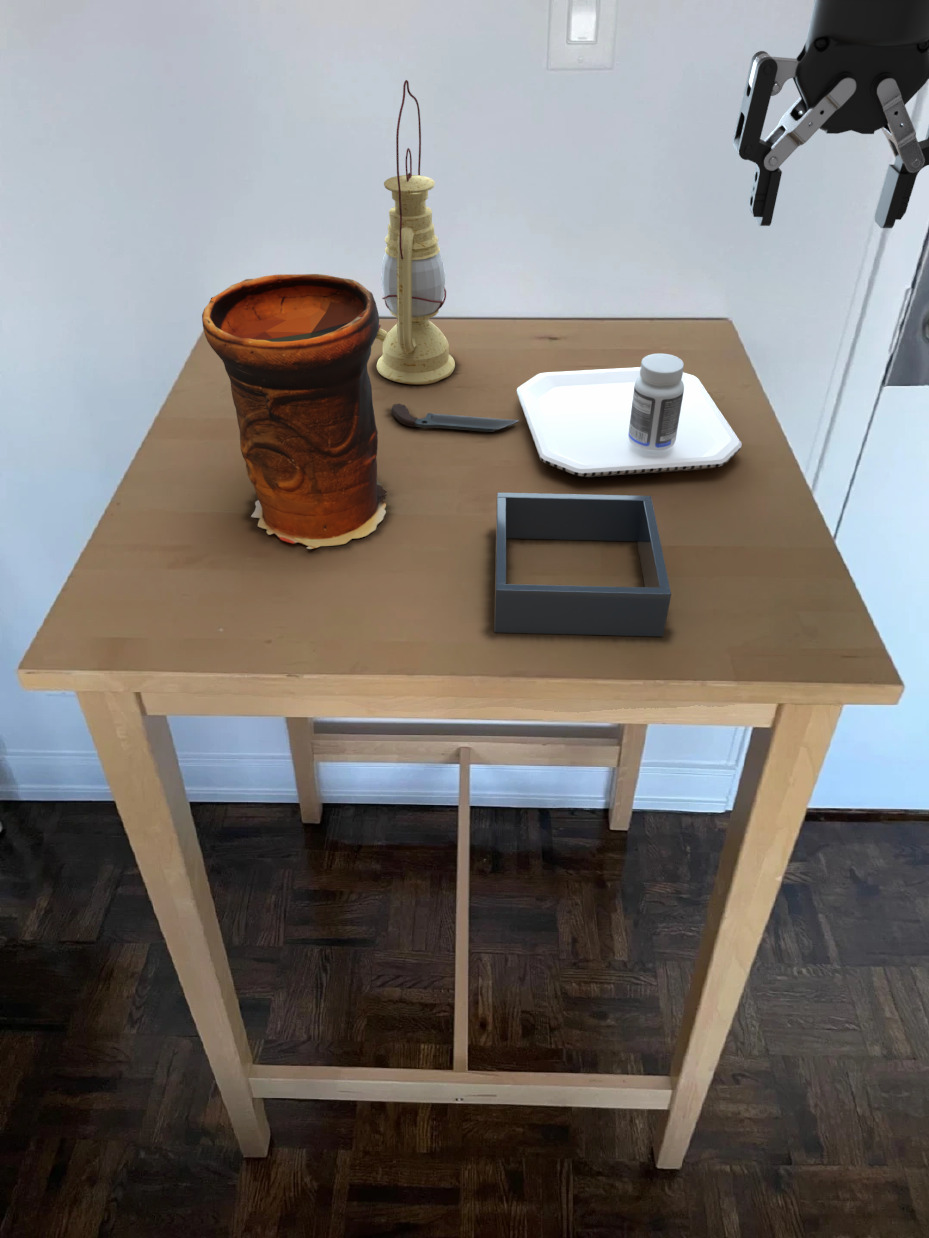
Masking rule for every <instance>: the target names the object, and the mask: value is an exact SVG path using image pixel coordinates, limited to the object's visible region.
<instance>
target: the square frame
mask: <svg viewBox="0 0 929 1238" xmlns="http://www.w3.org/2000/svg"><path fill="white" fill-rule="evenodd" d="M495 517H496V518H495V519H496V520H495V563H494V565H495V567H494V570H495V571H494V625H493V626H494V630H493V631H494V633H499V634H501V633H502V634H538V635H539V634H541V635H582V636H585V635H586V636H620V637H624V636H625V637H656V638H657V637H660V638H661V637H664V634H665V628H666V624H667V623H666V622H667V618H668V613H669V608H670V603H671V598H672V591H671V585H670V581H669V576H668V571H667V567H666V561H665V557H664V553H663V548H662V543H661V537H660V533H659V527H658V523H657V517H656V513H655V509H654V502H653V499H652V496H651V495H635V494H633V495H630V494H629V495H628V494H623V495H622V494H588V493H587V494H585V493H583V494H581V493H579V494H578V493H542V492H539V493H537V492H497V493H496V515H495ZM507 539H511V540H512V539H515V540H516V539H517V540H518V539H519V540H556V541H557V540H558V541H559V540H561V541H562V540H563V541H601V542H602V541H603V542H605V541H606V542H637V543H636V544H637V550H638V556H639V561H640V565H641V566H640V567H641V573H642V579H643V584H644V587H643V586H640V587H638V586H602V585H601V586H599V585H598V586H597V585H595V586H594V585H561V584H559V585H557V584H556V585H555V584H552V585H551V584H522V583H521V584H518V583H517V584H515V583H507Z"/></svg>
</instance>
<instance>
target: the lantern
mask: <svg viewBox="0 0 929 1238" xmlns="http://www.w3.org/2000/svg"><path fill="white" fill-rule="evenodd" d="M402 87H403V88H402V100H401V105H400V108H399V111H398V118H397V124H396V135H395V137H396V138H395V139H396V141H395V142H396V143H395V144H396V148H395V149H396V151H395V152H396V176H391V177H388V178H387V179H386V180H384V182H383V186H384V188H385V189H386V190H387V191H390V192H391V199H392V200H393V201H394V206H393V207H391V208H390V209H389V210H388V217H389V223H388V224H387V234H386V236H385V238H384V242H385V243H386V247H385V248H384V252H385V253H384V255H383V257H382V262H381V274H380V283H381V290H382V297H381V299H382V300H384V305H385V307H386V308H387V309H388V310H389V313H390V314H391V316H393V317H394V318H396V322H397V323H395V324H394V325H393V326H392V328H391V329H390V330H389V331H386V330H385V329H383V328H381V326H382V325H381V324H379V328H378V333H377V336H376V338H375V340H379V341H380V342H381V343H382V355H381V356H380V357H379V358H378V360H377V363H376V371H377V372H378V374H380V375H381V376H382V377H383V378H386V380H390V381H393V382H396V383H401V384H407V385H429V384H434V383H437V382H439V381H441V380H443V379H446V378H448V377H449V376H451V375H452V374H453V373H454V370H455V367H456V364H455V359H454V357H453V356H452V355H451V354H450V352H449V351H450V350H449V349H450V348H449V347H450V346H449V341H448V339H447V338H446V336H445V334H444V333H443V332H442V331H441V329H440V328H439V327H437V325H435V324H434V322H432V321H430V320H429V319H431V318H434V317H435V316H437V315H438V313H439V310H440V309H441V308H442V307H443V305H444V304H445V301H446V299H447V290H446V287H445V285H446V271H445V265H444V259H443V257H442V255H441V253H440V251H441V248H440V246H439V243H438V242H439V237H438V236H437V235H436V234H435V224H434V223H433V210H432V209H431V207H429V206H427V204H426V200H427V201H428V199H429V191H430V190H432V189H433V188H435V184H436V182H435V180H434V179H433V178H431V177H428V176H425V175H421V159H422V157H421V156H422V126H421V124H422V123H421V111H420V105H419V101H418V99H417V98H416V96H415V95H413V93H412V92H411V90H410V84H409V80H407V79H405V80H404V82H403V85H402ZM406 90H407V93H408V95H409V96H410V97H411V98H412V99H413V100H414V102H415V104H416V108H417V118H418V163H417V164H418V165H417V167H418V168H417V174H413V171H412V170H413V167H412V165H413V162H412V152H411V149H410V148H409V147H407V148H406V151H405V152H406V153H405V174H401V175H400V159H399V158H400V156H399V155H400V153H399V137H400V136H399V135H400V126H401V125H400V124H401V120H402V119H401V118H402V113H403V109H404V105H405V101H406ZM408 155H409V156H408ZM408 157H409V172H408Z"/></svg>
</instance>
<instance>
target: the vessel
mask: <svg viewBox="0 0 929 1238" xmlns="http://www.w3.org/2000/svg"><path fill="white" fill-rule="evenodd" d="M201 321H202V329H203V333H204V337H205V339H206V341H207V343H208V345H209V346H210V348H211V349H212V350H213V352H214V353H215V354H216V355H217V356H218V358H220V360H221V361H222V362H223V366H224V369H225V372H226V374H227V376H228V378H229V381H230V392H231V396H232V400H233V405H234V408H235V413H236V414H235V415H236V419H237V420H236V421H237V425H238V429H239V445H240V451H241V457H242V458H243V459H244V462H245V469H246V473H247V477H248V479H249V481H250V483H251V485H252V486H253V488H254V491H255V494H256V497H257V500H256V501H255V502H254V505H255V509H254V511H253V513H252V514H251V516H250V518H255V519H258V522H257V527H259V528H260V529H263V530H266V532H265V533H266V534H267V535H268V536H269V535H270V536H271V535H274V534H275V535H276V536H277V538H279V540H281V541H283V542H286V543H290V544H292V545H293V544H297V543H299V544H302V545H305V546H307V547H306V549H308V550H312V549H317V548H320V547H330V546H331V547H333V546H341V545H345V544H347V543H348V542H350V541H352V539H360V538H363V537H367V536H369V535H370V534H371V533H373V532H374V531H376V530H377V528H378V527H377V526H378V525H379V524H380V523H381V522H382V521H383V520H384V518H385V515H386V513H387V510H386V507H387V504H386V502H385V500H386V497H383V496H385V495H386V494H387V493H388V491H387V490H386V489H384V488H383V486H382V484H381V481H377V480H378V460H377V459H378V458H377V456H378V445H379V444H378V441H379V439H378V438H379V437H378V435H379V432H378V428H377V425H376V417H375V409H374V401H373V388H372V382H371V377H370V374H369V372H368V363H369V360H370V357H371V354H372V346H373V344H374V342H375V340H376V336H377V333H378V328H379V325H380V315H379V311H378V307H377V302H376V300H375V298H374V294H373V292H371V291H370V290H368V289H367V288H366V287H365V286H364V285H363V284H361V283H360V282H359V281H357V280H354V279H351V278H345V277H344V278H343V277H339V276H333V275H329V274H322V273H321V274H320V273H305V274H301V273H299V274H296V273H295V274H293V273H292V274H290V273H289V274H285V273H284V274H271V275H263V276H259V277H255V278H245V279H243V280H241V281H239V282H236V283H234V284H231V285H230V286H228V287H227V288H226V289H224V290H222V291H221V292H220V293H218V294H216V295H214V296H212V297H210V300H209V302H208V303H207V305H205V307H204V309H203V311H202V314H201Z"/></svg>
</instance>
